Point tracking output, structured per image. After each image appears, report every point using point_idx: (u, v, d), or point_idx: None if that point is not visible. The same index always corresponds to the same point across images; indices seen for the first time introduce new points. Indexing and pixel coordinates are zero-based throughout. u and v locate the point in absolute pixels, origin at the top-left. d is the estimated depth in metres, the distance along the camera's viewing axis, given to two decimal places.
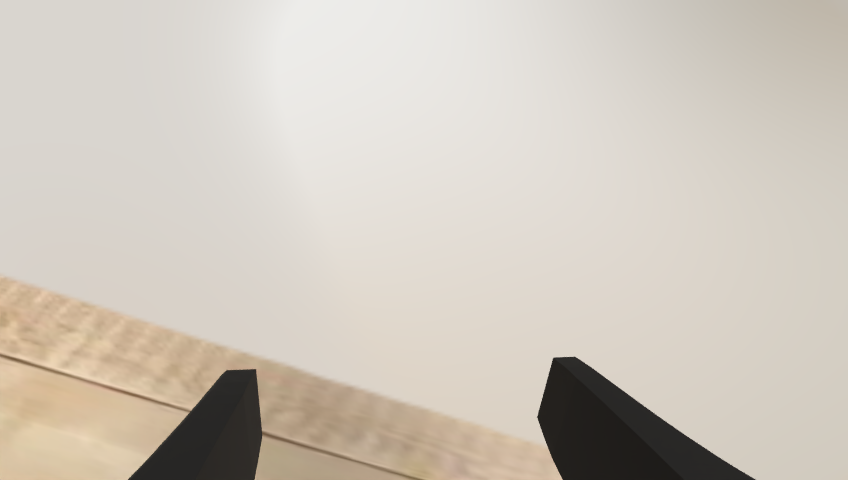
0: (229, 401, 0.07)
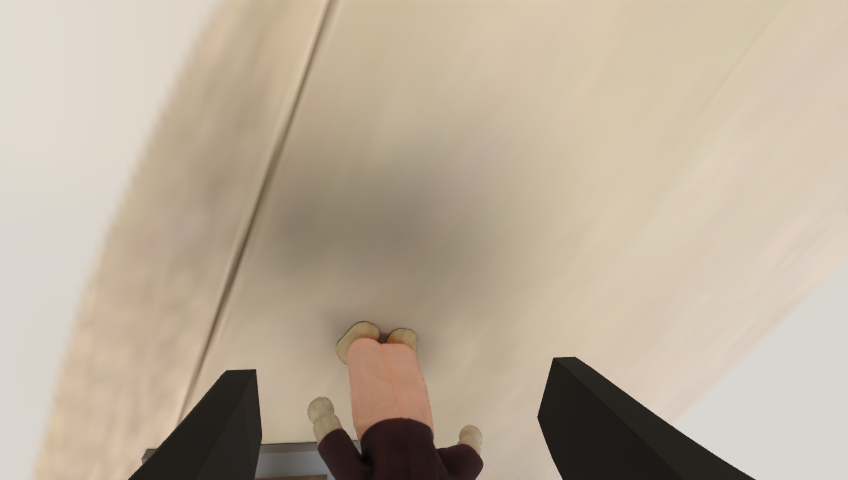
0: (229, 400, 0.07)
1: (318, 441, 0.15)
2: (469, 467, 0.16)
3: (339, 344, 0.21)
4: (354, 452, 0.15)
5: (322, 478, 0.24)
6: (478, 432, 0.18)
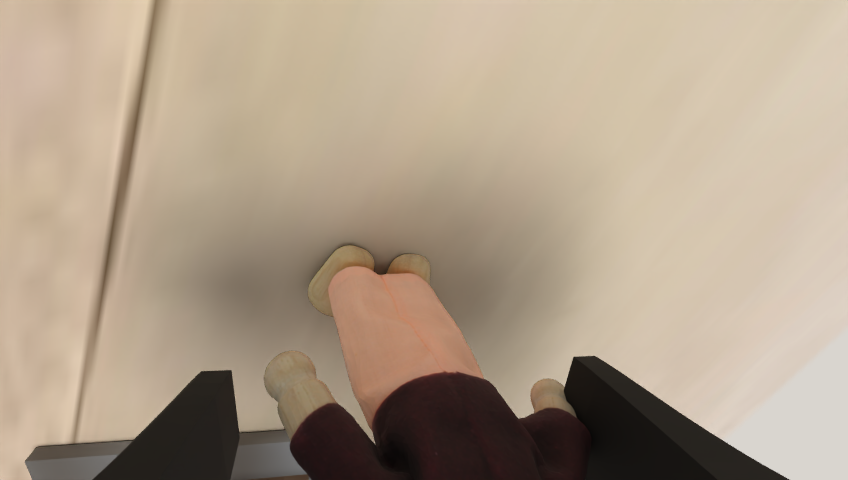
0: (200, 402, 0.07)
1: (290, 433, 0.07)
2: (577, 446, 0.09)
3: (312, 284, 0.13)
4: (368, 446, 0.07)
5: None
6: (563, 387, 0.11)
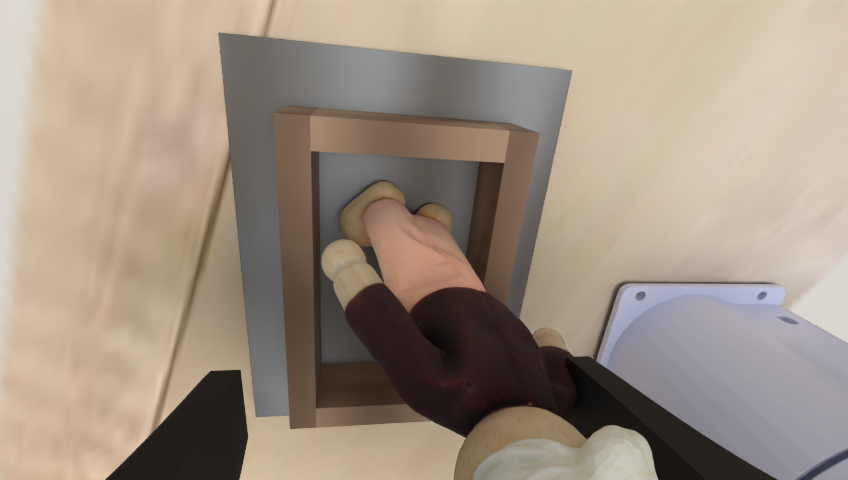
0: (211, 401, 0.07)
1: (347, 299, 0.08)
2: None
3: (346, 209, 0.14)
4: (414, 322, 0.08)
5: (506, 123, 0.15)
6: (561, 337, 0.12)
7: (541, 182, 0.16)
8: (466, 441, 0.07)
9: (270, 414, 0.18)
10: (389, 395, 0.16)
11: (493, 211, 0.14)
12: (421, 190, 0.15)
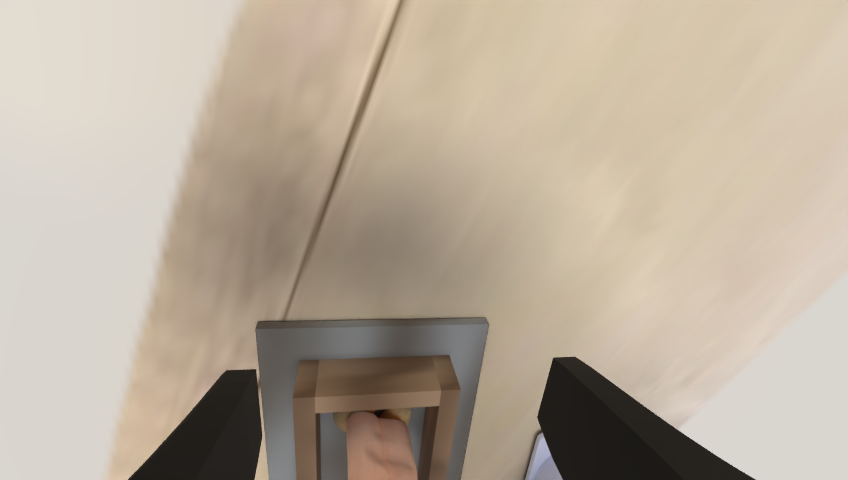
0: (229, 401, 0.07)
1: None
2: None
3: None
4: None
5: (445, 358, 0.22)
6: None
7: (473, 384, 0.23)
8: None
9: None
10: None
11: (434, 427, 0.21)
12: None
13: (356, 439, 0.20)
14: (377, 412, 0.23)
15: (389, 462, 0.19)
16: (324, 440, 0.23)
